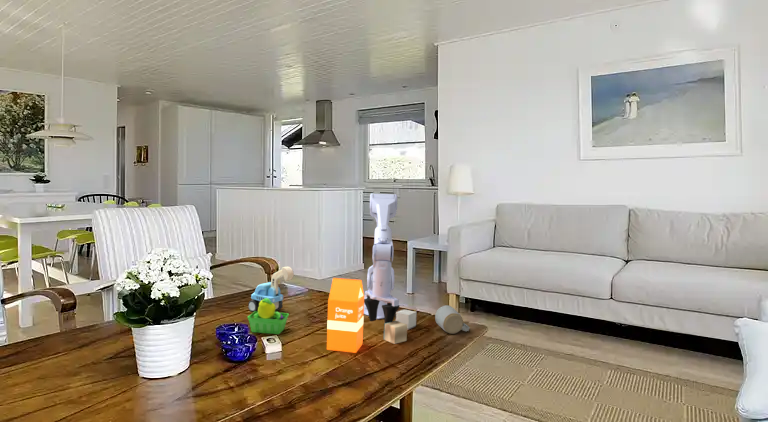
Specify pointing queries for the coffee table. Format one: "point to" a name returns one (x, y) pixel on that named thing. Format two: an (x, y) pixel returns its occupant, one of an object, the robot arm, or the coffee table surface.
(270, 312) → the fruit basket
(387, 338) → the maple cube
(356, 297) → the orange juice
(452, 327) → the ceramic mug
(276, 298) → the toy excavator
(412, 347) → the coffee table surface
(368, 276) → the robot arm
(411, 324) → the grey cube
